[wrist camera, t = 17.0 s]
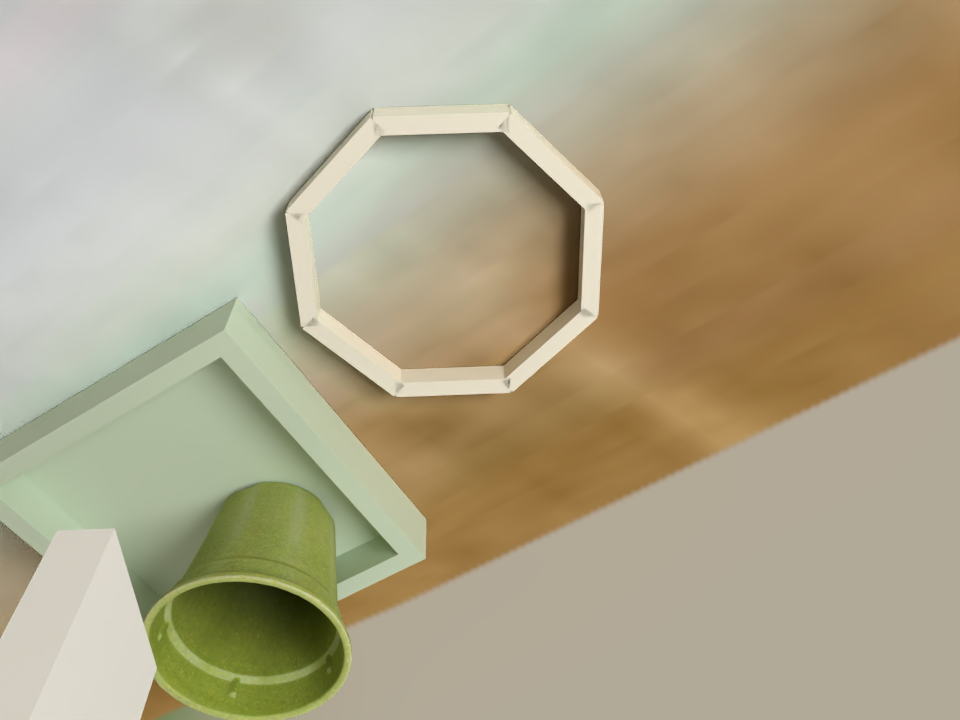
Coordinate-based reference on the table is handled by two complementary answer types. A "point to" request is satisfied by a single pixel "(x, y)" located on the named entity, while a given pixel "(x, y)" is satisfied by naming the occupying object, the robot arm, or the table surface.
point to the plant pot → (255, 611)
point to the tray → (201, 458)
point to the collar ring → (457, 377)
